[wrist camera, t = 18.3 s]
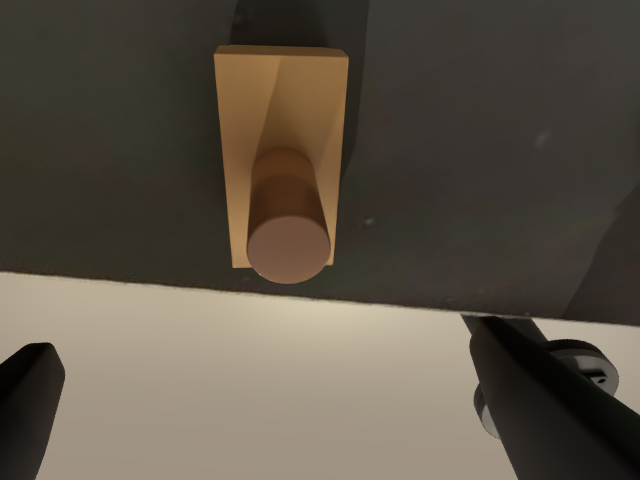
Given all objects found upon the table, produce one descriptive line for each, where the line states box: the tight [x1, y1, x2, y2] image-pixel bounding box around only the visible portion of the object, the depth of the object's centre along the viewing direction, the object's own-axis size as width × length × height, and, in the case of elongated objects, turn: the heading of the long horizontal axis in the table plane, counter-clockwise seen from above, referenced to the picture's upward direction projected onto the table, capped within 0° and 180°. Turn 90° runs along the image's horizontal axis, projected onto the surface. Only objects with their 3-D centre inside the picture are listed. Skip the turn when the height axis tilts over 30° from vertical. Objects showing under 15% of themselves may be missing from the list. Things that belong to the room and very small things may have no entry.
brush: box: [214, 45, 349, 284], centre depth 15 cm, size 9×4×8 cm, turn 177°
